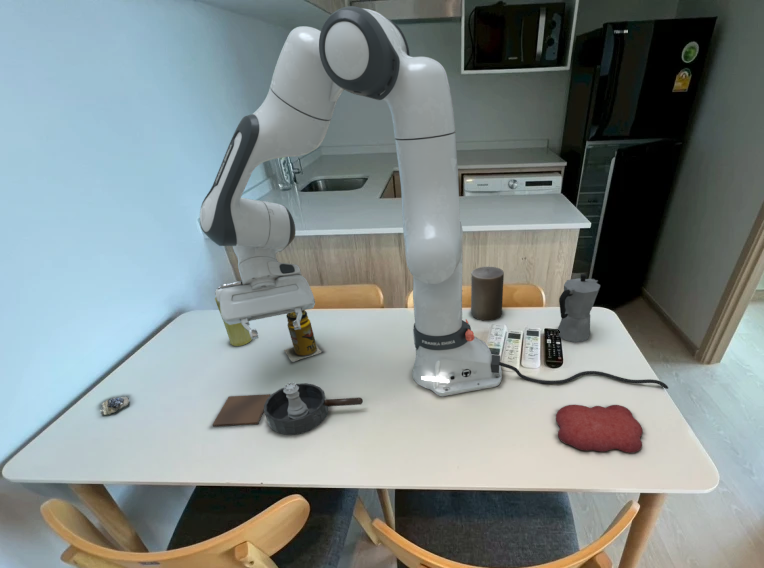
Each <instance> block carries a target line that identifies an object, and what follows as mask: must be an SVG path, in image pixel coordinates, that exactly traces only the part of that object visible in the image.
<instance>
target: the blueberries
mask: <svg viewBox="0 0 764 568" xmlns="http://www.w3.org/2000/svg"><path fill="white" fill-rule="evenodd" d="M129 403H130V400H129V397H128V396H119V397H118V396H117V397H111V398H108V399H107V400H105V401H103V402H102V403H101V409H100V410H99V411H100V414H101V416H106V415H111V414H113V413H116V412H117V411H119V410H121V409H122V408H123V407H127V406H129Z"/></svg>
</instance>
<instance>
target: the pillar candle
mask: <svg viewBox="0 0 764 568" xmlns="http://www.w3.org/2000/svg"><path fill="white" fill-rule="evenodd" d="M470 274H471V278H470V281H471V288H470V294H471V296H470V298H471V299H470V314H471V316H472V317H473V318H474V319H476V320H480V321H485V322H486V321H494V320H497V319H500V318H501V316H502V315H503V296H504V277H505V271H504V270H503V269H501V268H499V267H496V266H489V265H488V266H481V267H477V268H474V269H473V270H472V271H471V273H470Z"/></svg>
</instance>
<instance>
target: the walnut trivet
mask: <svg viewBox="0 0 764 568" xmlns="http://www.w3.org/2000/svg"><path fill="white" fill-rule="evenodd" d="M271 395H272V394H270V393H268V394H267V393H266V394H250V395H249V394H247V395H231V396H228V397H227V399H226V400H225V402H224V404H223V405H222V407H221V409H220V411H219V412H218V415H217V416H216V418H215V419H214V421H213V423H212V427H215V428H217V427H232V426H249V425H259V423H260V421H261V419H262V417H263V414H264V404H265V402H266V400H267V399H268V398H269V397H270V396H271Z"/></svg>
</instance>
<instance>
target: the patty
mask: <svg viewBox="0 0 764 568" xmlns="http://www.w3.org/2000/svg"><path fill="white" fill-rule="evenodd" d="M555 421H556V423H557V426H558V427H559V429H558V431H557V436H558V439H559V440H560V441H561V442H562V443H564V444H565V445H569V446H571V447H574V448H575V449H577V450H580V451H596V452H601V453H602V452H603V453H604V452H608V451H610V450H619V451H621V452H624V453H630V454H632V453H633V454H634V453H638V452H639V451H641V449H642V447H643V442H642V440H641V437H642V436H643V427H642V425H641V424H640V423H639V421H638V420H637V419H636V418H635V417H634V416H633V413H632V411H631V410H630V409H629V408H628V407H625V406H623V405H620V404H611V405H608V406H606V407H605V406H603V405H602V406H601V405H594V406H591V407H589V406H585V405H580V404H568V405H564V406H563V407H561V408H559V409H558V410H557V412H556V413H555Z"/></svg>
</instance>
